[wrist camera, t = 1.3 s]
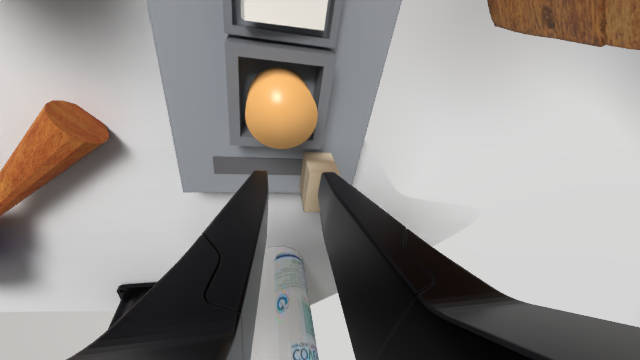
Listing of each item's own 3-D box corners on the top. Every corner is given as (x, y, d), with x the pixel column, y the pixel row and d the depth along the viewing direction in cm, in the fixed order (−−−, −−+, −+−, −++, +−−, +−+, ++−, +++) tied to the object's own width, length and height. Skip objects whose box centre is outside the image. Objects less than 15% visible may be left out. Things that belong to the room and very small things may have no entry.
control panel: (190, 173, 21) (176, 210, 18) (149, -81, 13) (105, -107, 9) (342, 176, 24) (356, 208, 21) (391, -28, 16) (429, -32, 12)
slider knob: (299, 187, 20) (304, 212, 18) (303, 151, 19) (309, 174, 16) (324, 187, 21) (331, 211, 19) (330, 152, 19) (340, 174, 17)
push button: (247, 127, 16) (245, 147, 14) (246, 63, 14) (244, 76, 12) (306, 130, 16) (312, 150, 15) (314, 71, 14) (322, 84, 12)
